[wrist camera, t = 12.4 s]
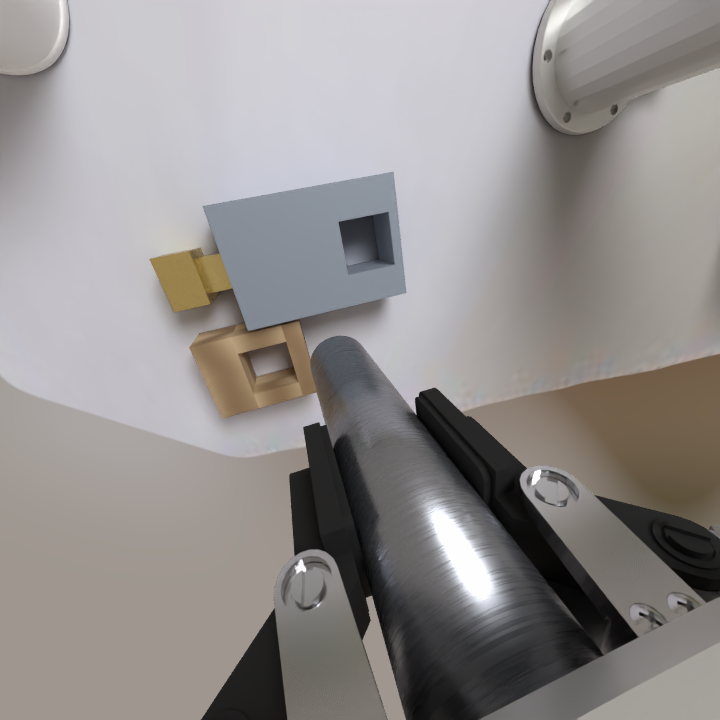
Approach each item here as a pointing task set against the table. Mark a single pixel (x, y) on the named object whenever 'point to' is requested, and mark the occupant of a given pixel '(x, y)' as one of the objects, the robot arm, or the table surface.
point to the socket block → (307, 249)
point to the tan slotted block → (236, 374)
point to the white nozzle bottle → (31, 34)
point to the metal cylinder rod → (438, 557)
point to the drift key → (191, 278)
